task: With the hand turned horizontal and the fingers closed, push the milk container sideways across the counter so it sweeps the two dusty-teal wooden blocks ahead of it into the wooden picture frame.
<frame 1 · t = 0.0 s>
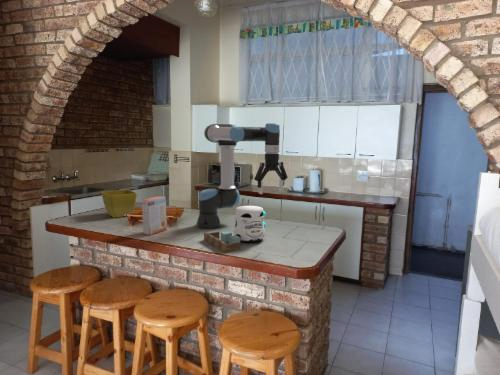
hand: (271, 192, 190), 28 cm above the table, tool pointing down, fingers open, 13 cm apart
block right: (234, 245, 191), on the table
block left: (226, 240, 198), on the table
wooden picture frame: (221, 244, 191), on the table
flower pot: (120, 215, 254), on the table
donuts: (257, 226, 229), on the table
milk container: (249, 239, 201), on the table
cracker box: (155, 232, 213), on the table
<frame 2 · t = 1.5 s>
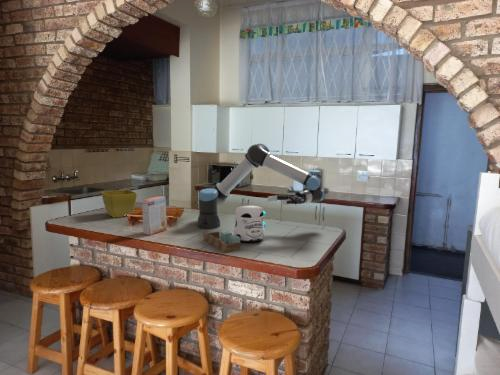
hand: (274, 200, 206), 21 cm above the table, tool horizontal, fingers open, 13 cm apart
nothing on the table moved.
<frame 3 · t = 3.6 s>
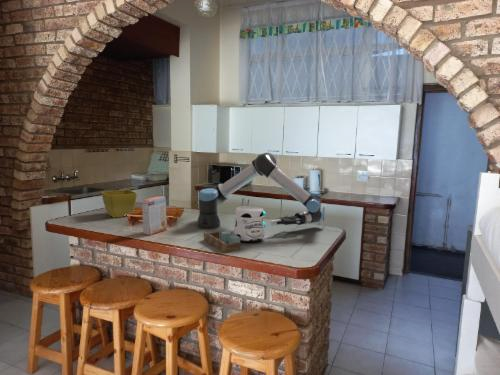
hand: (271, 223, 208), 8 cm above the table, tool horizontal, fingers closed
nothing on the table moved.
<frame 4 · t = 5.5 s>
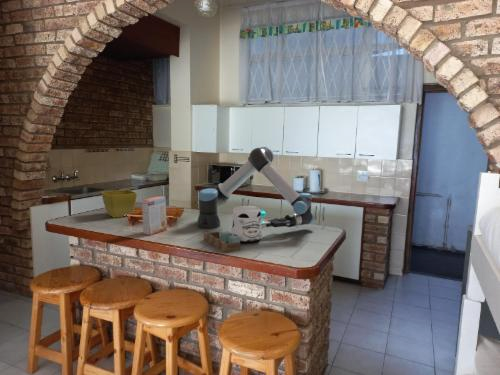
hand: (260, 225, 203), 7 cm above the table, tool horizontal, fingers closed
block right: (234, 244, 191), on the table, touching milk container
milk container: (246, 240, 200), on the table, touching block right, gripper
everything else where it was.
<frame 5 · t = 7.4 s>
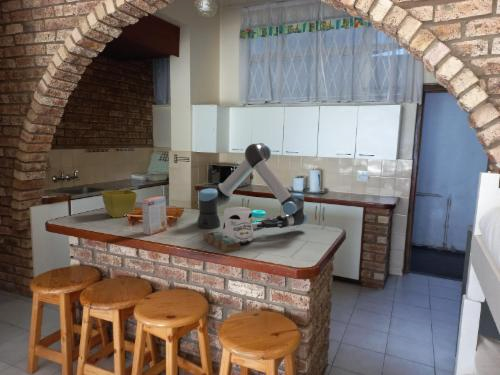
hand: (251, 226, 200), 8 cm above the table, tool horizontal, fingers closed
block right: (227, 247, 187), on the table
block left: (218, 241, 197), on the table, touching milk container
milk container: (237, 241, 197), on the table, touching block left, gripper
everything else where it was.
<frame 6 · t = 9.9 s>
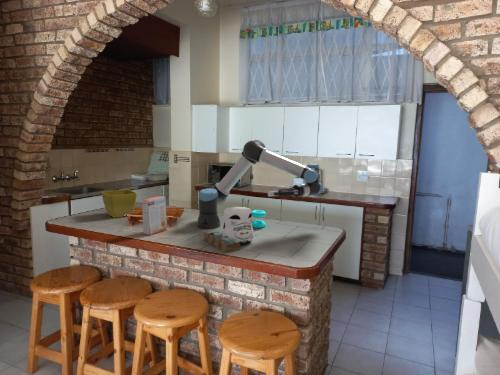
hand: (268, 194, 204), 25 cm above the table, tool horizontal, fingers closed
block left: (218, 241, 197), on the table
milk container: (237, 241, 197), on the table
everything else where it was.
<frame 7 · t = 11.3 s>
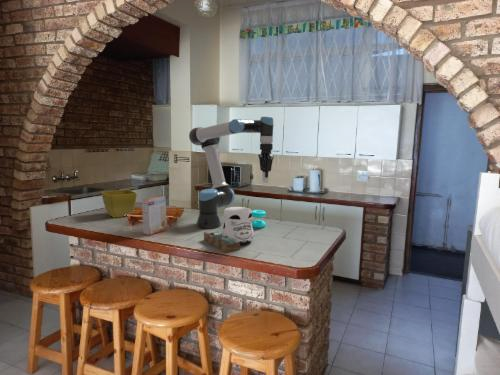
hand: (265, 182, 213), 30 cm above the table, tool pointing down, fingers closed
nothing on the table moved.
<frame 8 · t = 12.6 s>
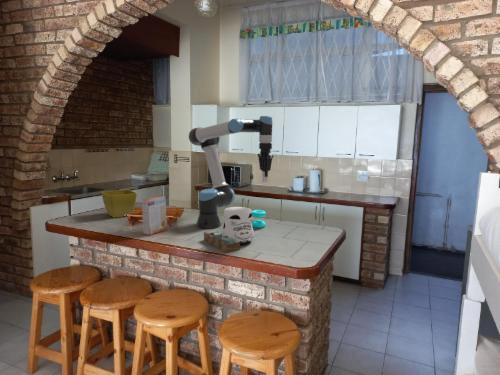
hand: (264, 182, 213), 30 cm above the table, tool pointing down, fingers closed
block right: (227, 247, 187), on the table, touching milk container
milk container: (237, 241, 197), on the table, touching block right
everything else where it was.
at the end: milk container moved 7.4 cm from its start; block left inside the target area on the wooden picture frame (5.9 cm from its centre), point 0.0 cm above the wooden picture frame's base; block right inside the target area on the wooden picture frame (5.2 cm from its centre), point 0.0 cm above the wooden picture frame's base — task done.
